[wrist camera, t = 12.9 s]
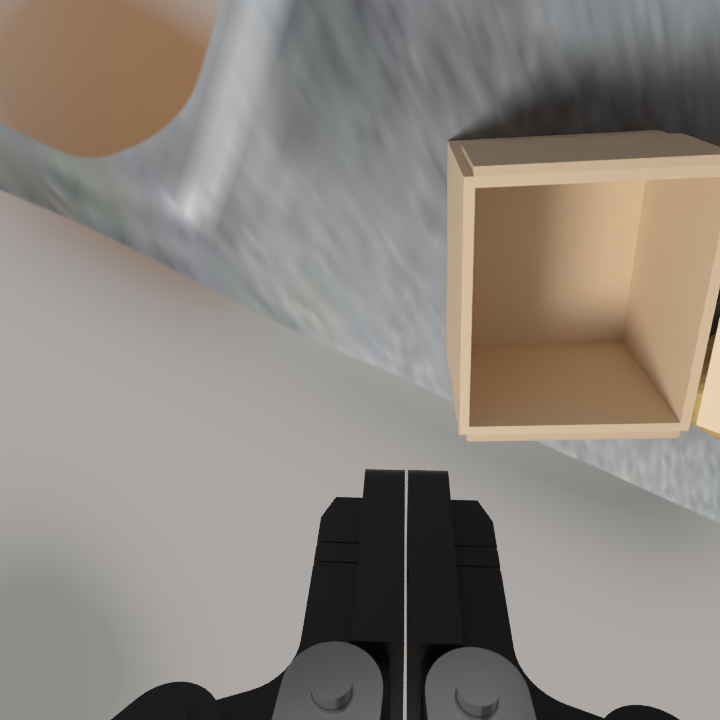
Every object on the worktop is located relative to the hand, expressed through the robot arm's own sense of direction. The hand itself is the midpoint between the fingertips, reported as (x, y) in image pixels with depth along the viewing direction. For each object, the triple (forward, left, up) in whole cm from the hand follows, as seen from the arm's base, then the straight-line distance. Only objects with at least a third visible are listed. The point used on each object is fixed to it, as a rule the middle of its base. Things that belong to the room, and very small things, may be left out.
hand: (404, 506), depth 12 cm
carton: (+7, +10, -36) cm, 38 cm away
